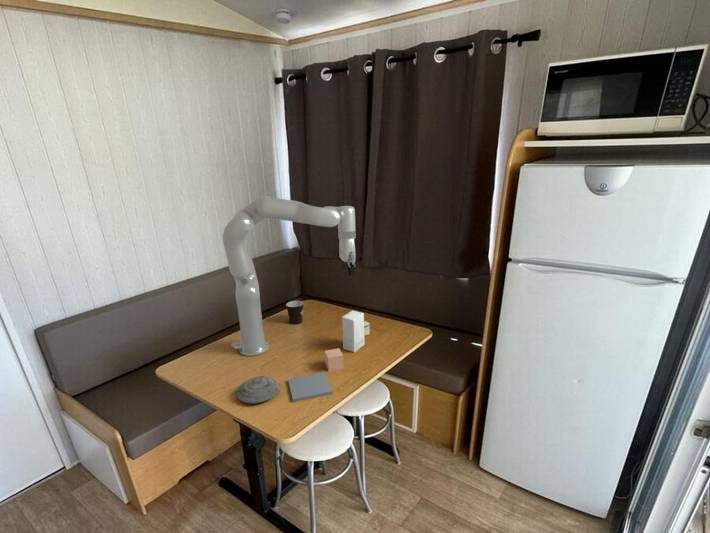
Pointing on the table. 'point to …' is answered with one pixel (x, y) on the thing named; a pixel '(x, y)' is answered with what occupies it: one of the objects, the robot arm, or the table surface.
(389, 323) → the table surface
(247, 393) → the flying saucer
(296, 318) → the coffee mug
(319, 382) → the slate mat
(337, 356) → the terracotta cube
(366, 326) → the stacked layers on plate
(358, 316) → the skincare box
